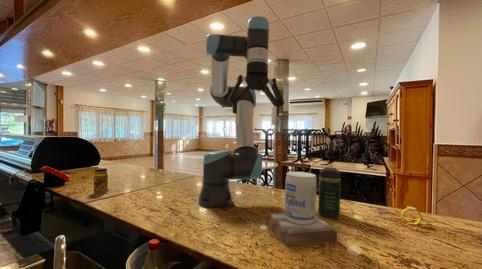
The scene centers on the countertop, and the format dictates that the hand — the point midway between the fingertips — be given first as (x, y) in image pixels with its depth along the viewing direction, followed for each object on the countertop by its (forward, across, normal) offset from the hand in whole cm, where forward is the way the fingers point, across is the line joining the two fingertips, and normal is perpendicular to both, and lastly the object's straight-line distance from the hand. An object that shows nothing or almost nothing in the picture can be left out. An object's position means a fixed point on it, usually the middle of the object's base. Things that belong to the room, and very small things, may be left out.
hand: (255, 124), depth 77 cm
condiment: (+35, -65, +53) cm, 91 cm away
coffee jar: (+35, +32, +2) cm, 47 cm away
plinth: (+35, +12, -10) cm, 38 cm away
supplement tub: (+31, +12, -10) cm, 35 cm away
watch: (+35, +56, -12) cm, 67 cm away
